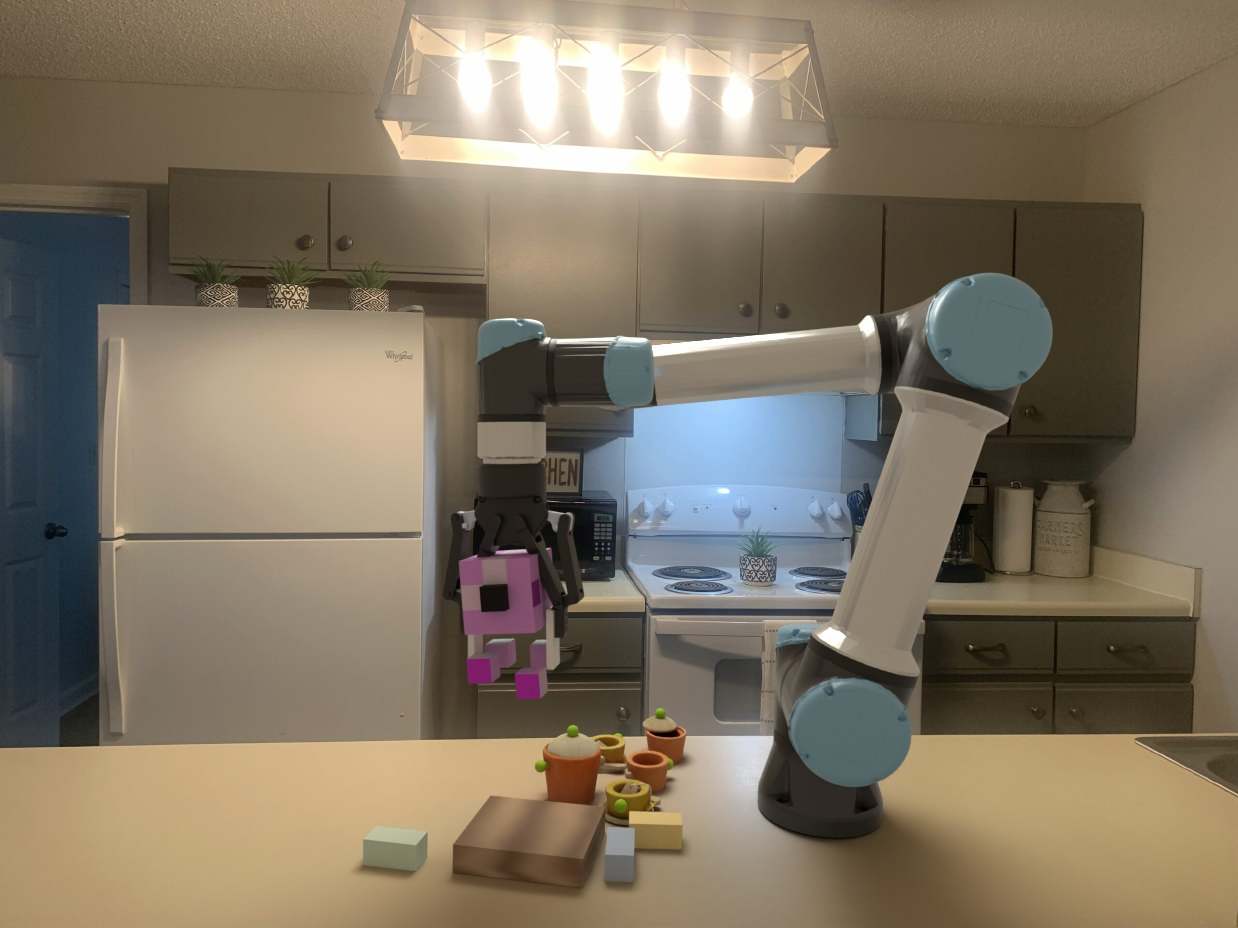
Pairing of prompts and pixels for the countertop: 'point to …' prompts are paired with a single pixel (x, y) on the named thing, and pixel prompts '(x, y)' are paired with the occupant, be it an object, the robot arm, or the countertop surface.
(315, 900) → the countertop surface
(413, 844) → the brick sage
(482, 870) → the pedestal
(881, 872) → the countertop surface
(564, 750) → the toy tea set
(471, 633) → the toy
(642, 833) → the brick ochre
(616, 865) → the brick slate
